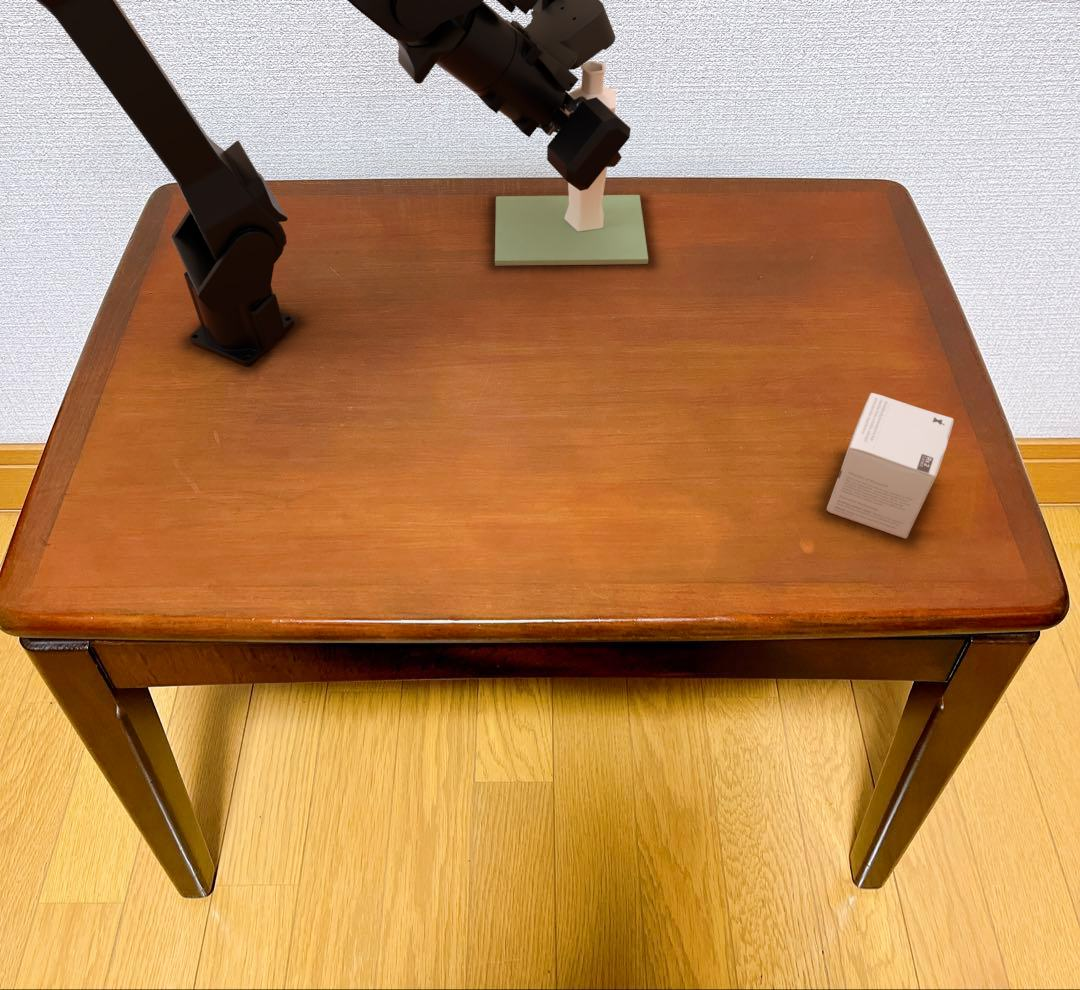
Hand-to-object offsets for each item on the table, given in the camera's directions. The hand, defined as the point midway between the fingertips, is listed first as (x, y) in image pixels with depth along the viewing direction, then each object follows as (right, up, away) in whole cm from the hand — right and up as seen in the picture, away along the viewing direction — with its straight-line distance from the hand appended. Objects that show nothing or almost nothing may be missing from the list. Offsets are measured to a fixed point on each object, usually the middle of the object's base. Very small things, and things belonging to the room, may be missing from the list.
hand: (603, 148), depth 91 cm
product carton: (+19, -32, -16) cm, 40 cm away
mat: (-3, -6, +5) cm, 8 cm away
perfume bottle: (-1, -5, +5) cm, 7 cm away
